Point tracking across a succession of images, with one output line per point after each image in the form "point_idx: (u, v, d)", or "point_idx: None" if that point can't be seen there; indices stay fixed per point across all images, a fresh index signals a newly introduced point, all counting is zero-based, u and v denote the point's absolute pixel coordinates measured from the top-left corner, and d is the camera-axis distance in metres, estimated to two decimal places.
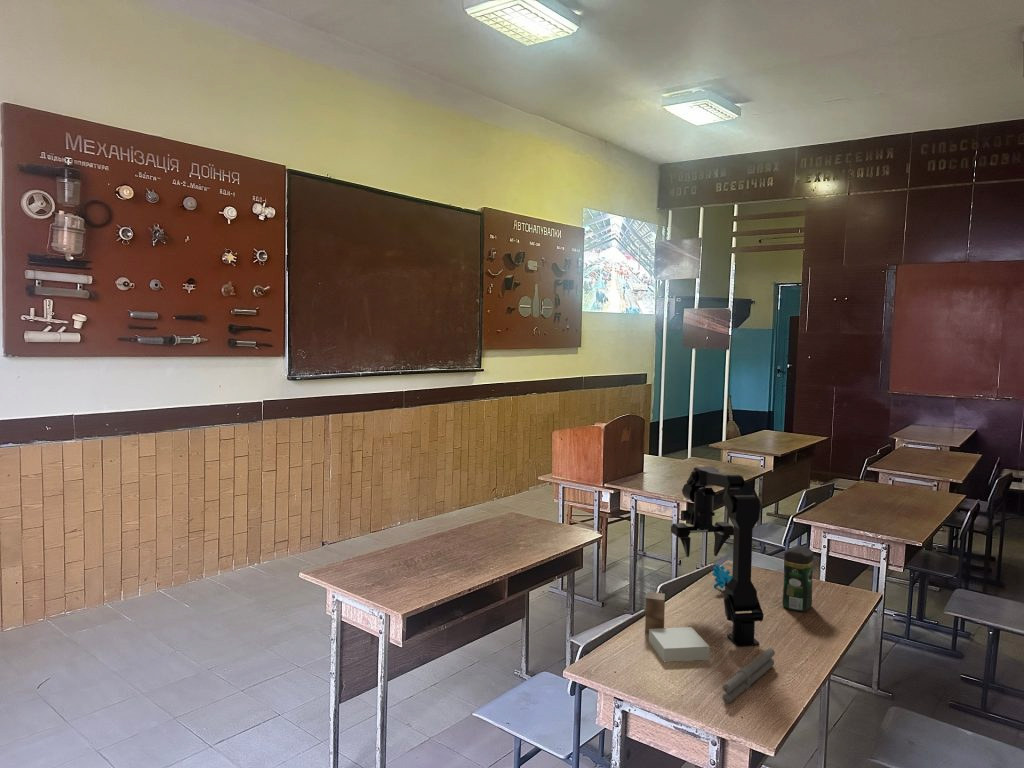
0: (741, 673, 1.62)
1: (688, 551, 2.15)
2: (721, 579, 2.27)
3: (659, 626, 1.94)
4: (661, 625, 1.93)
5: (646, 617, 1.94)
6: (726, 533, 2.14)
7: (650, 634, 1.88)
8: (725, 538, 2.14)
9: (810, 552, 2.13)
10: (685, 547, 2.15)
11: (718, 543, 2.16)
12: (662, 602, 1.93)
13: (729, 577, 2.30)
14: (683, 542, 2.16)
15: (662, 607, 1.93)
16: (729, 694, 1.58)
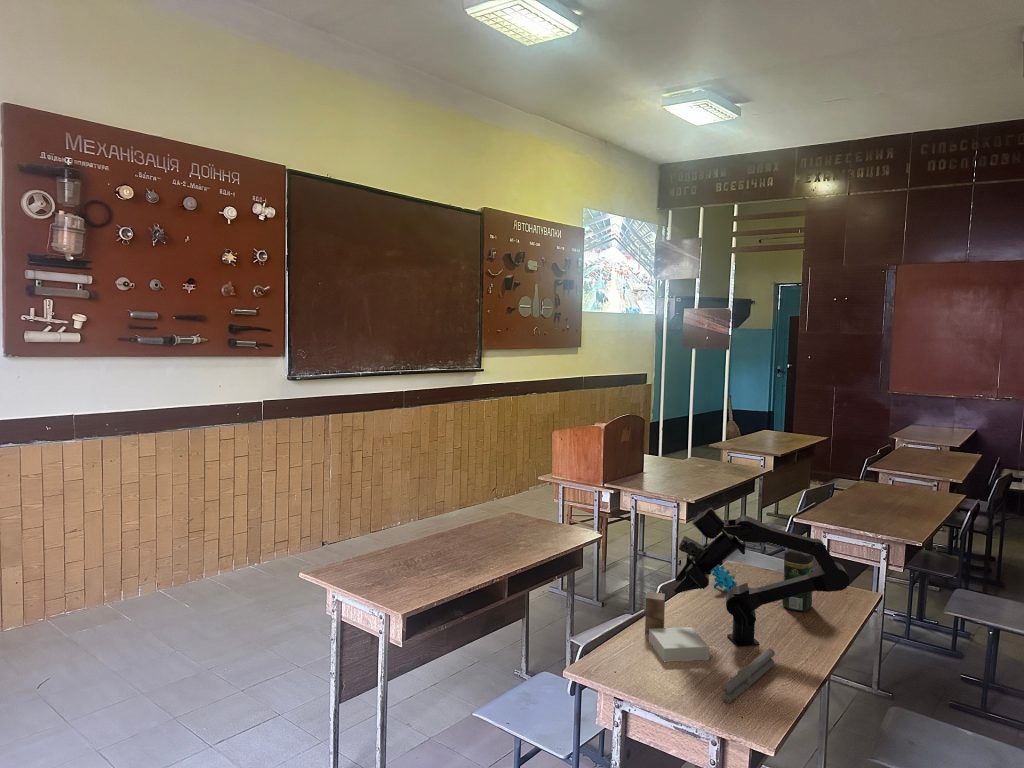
0: (741, 673, 1.62)
1: None
2: (721, 579, 2.27)
3: (659, 626, 1.94)
4: (661, 625, 1.93)
5: (646, 617, 1.94)
6: None
7: (650, 634, 1.88)
8: None
9: None
10: (686, 588, 1.88)
11: None
12: (662, 602, 1.93)
13: (729, 577, 2.30)
14: (685, 581, 1.88)
15: (662, 607, 1.93)
16: (729, 694, 1.58)
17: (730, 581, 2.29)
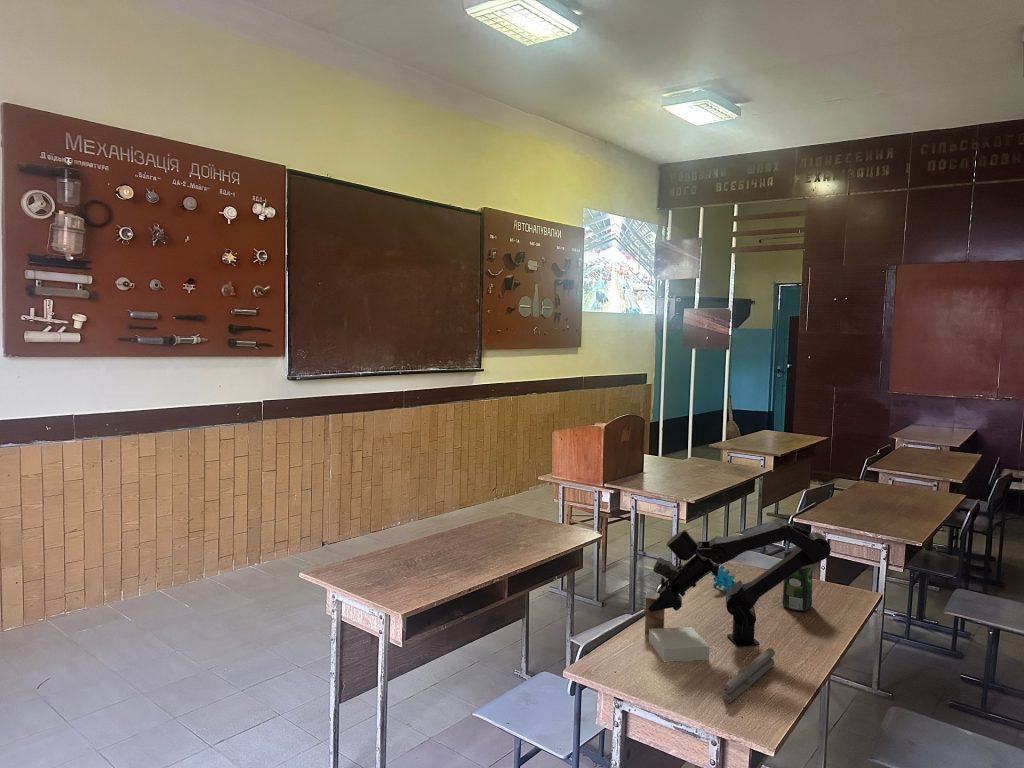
0: (741, 673, 1.62)
1: None
2: (720, 579, 2.27)
3: (659, 626, 1.94)
4: (661, 625, 1.93)
5: (646, 617, 1.94)
6: None
7: (650, 634, 1.88)
8: None
9: None
10: (660, 607, 1.92)
11: None
12: None
13: (728, 577, 2.30)
14: (659, 600, 1.92)
15: None
16: (729, 694, 1.58)
17: (729, 581, 2.29)
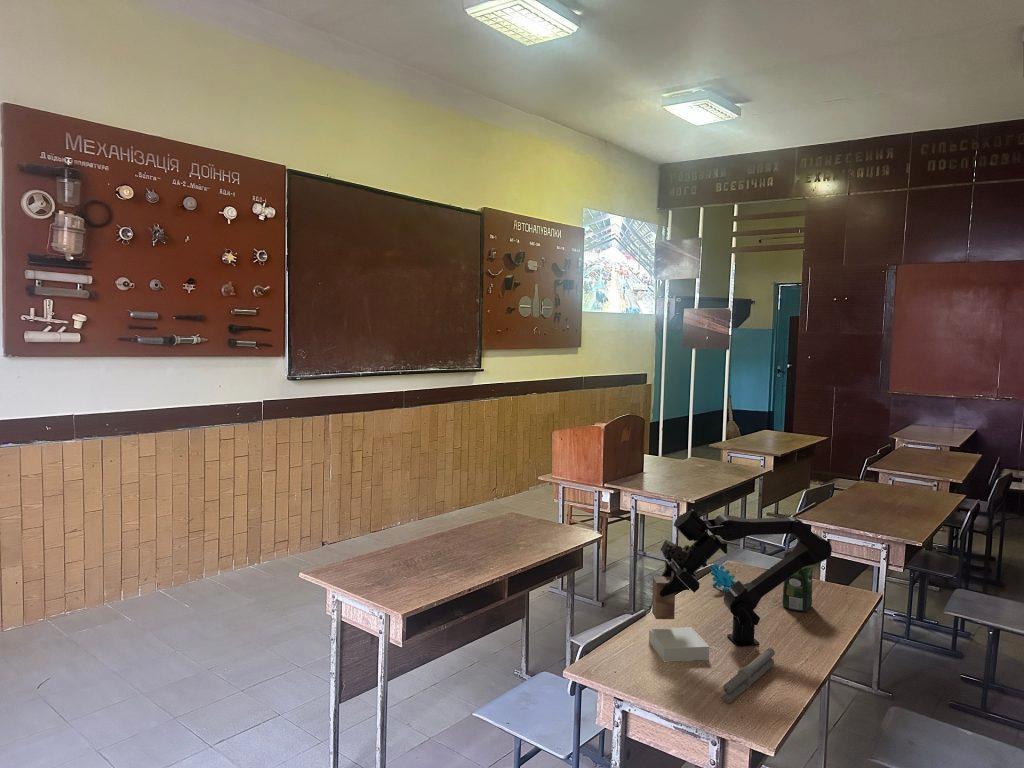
0: (741, 673, 1.62)
1: None
2: (719, 578, 2.27)
3: (670, 611, 1.87)
4: (672, 609, 1.87)
5: (657, 603, 1.87)
6: None
7: (650, 634, 1.88)
8: None
9: None
10: (672, 590, 1.85)
11: None
12: None
13: (728, 577, 2.30)
14: (672, 584, 1.85)
15: None
16: (729, 694, 1.58)
17: (729, 581, 2.29)
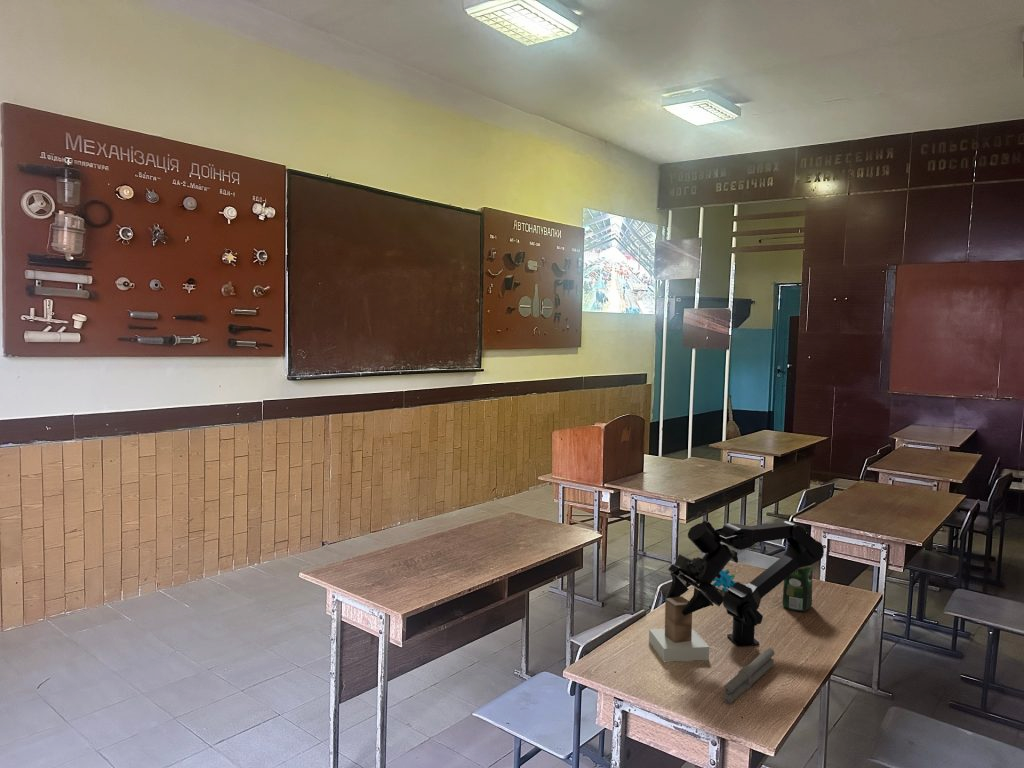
0: (742, 673, 1.62)
1: None
2: None
3: (688, 632, 1.81)
4: (690, 631, 1.82)
5: (676, 626, 1.80)
6: None
7: (650, 634, 1.88)
8: None
9: None
10: (695, 608, 1.79)
11: (679, 593, 1.88)
12: None
13: (728, 576, 2.31)
14: (695, 601, 1.78)
15: None
16: (730, 694, 1.58)
17: (729, 581, 2.29)
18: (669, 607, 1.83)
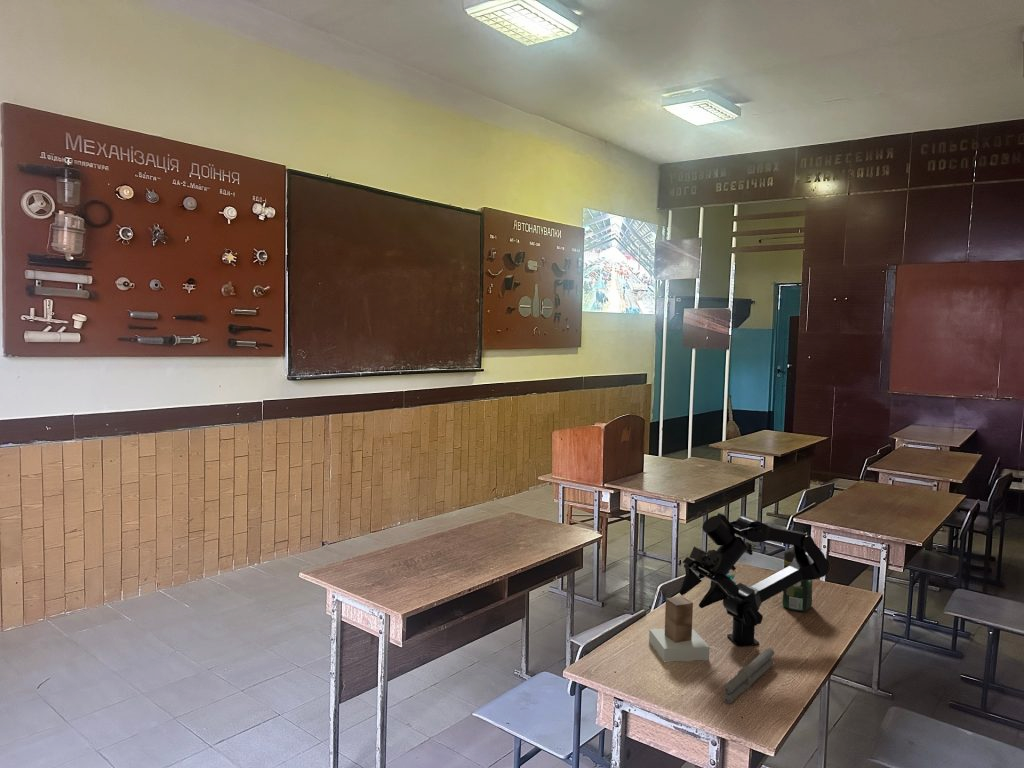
0: (741, 673, 1.63)
1: None
2: None
3: (688, 632, 1.82)
4: (690, 630, 1.82)
5: (676, 625, 1.80)
6: None
7: (650, 634, 1.88)
8: None
9: None
10: (712, 600, 1.79)
11: (693, 584, 1.90)
12: (691, 606, 1.81)
13: (728, 576, 2.31)
14: (712, 594, 1.79)
15: (691, 611, 1.82)
16: (730, 694, 1.58)
17: None
18: (670, 607, 1.83)
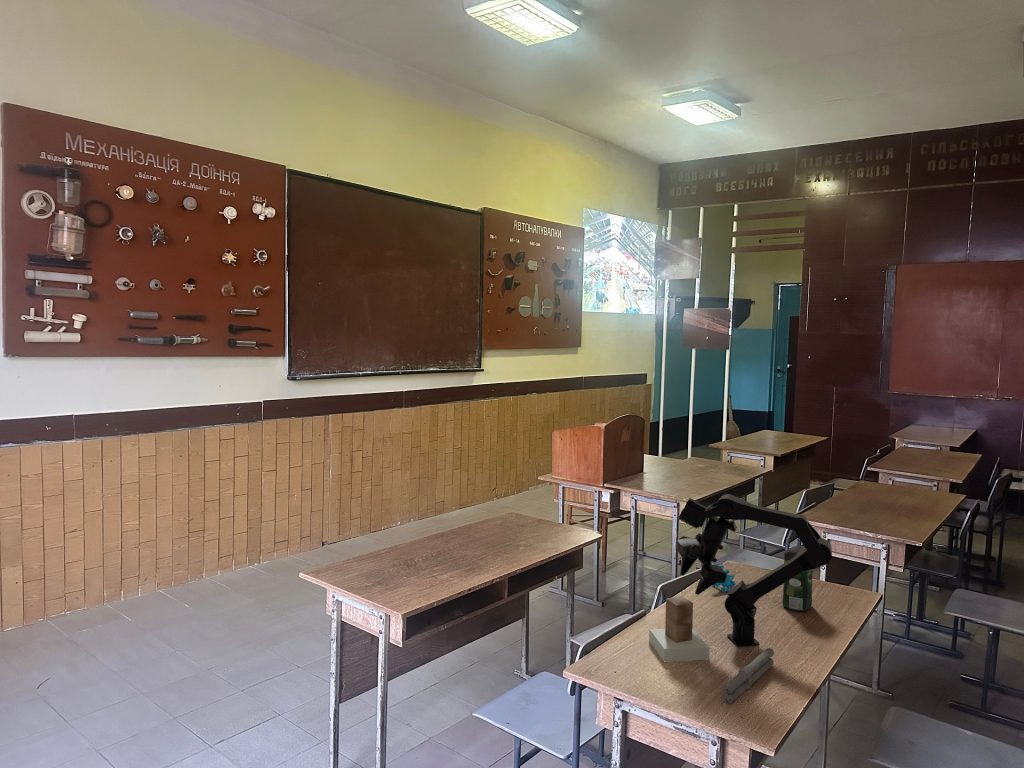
0: (742, 673, 1.62)
1: None
2: None
3: (689, 632, 1.82)
4: (690, 630, 1.82)
5: (677, 626, 1.80)
6: None
7: (650, 634, 1.88)
8: None
9: None
10: (706, 587, 1.90)
11: (691, 562, 2.00)
12: (691, 605, 1.81)
13: (727, 576, 2.31)
14: (704, 582, 1.89)
15: (691, 611, 1.82)
16: (730, 694, 1.58)
17: (728, 580, 2.30)
18: (670, 607, 1.83)
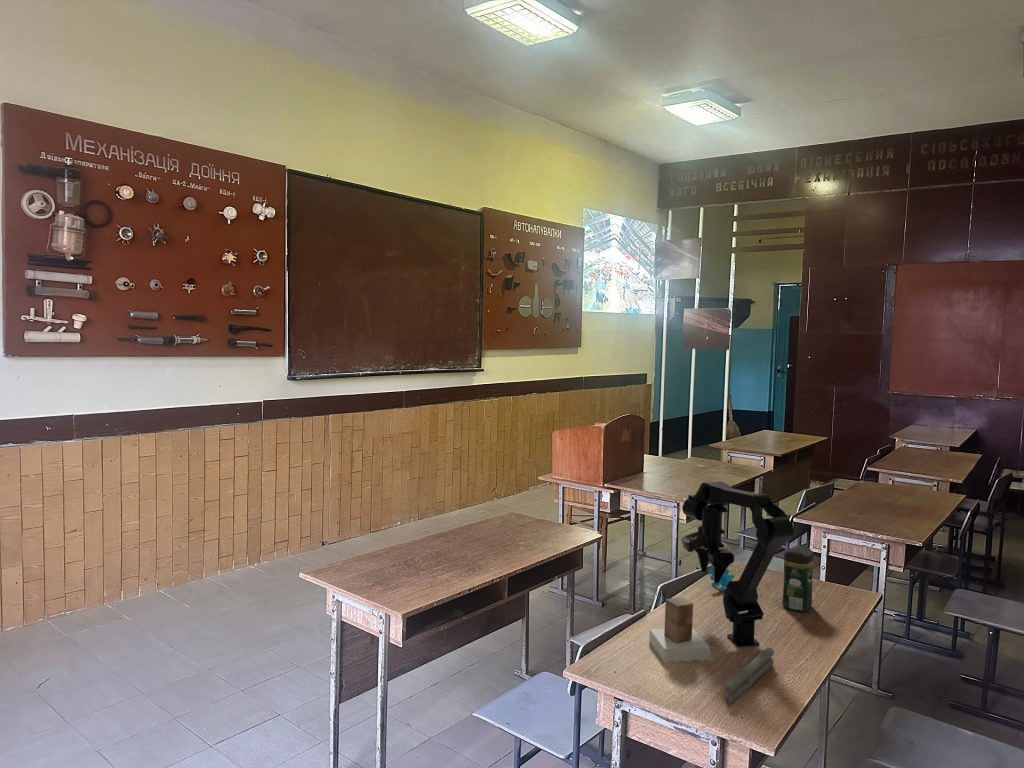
0: (742, 673, 1.62)
1: None
2: None
3: (689, 632, 1.81)
4: (690, 631, 1.82)
5: (677, 626, 1.80)
6: None
7: (650, 634, 1.88)
8: None
9: (810, 552, 2.13)
10: (721, 572, 1.97)
11: (708, 557, 2.07)
12: (691, 606, 1.81)
13: (727, 576, 2.31)
14: (717, 569, 1.97)
15: (691, 611, 1.81)
16: (731, 694, 1.58)
17: (728, 580, 2.30)
18: (670, 608, 1.82)
